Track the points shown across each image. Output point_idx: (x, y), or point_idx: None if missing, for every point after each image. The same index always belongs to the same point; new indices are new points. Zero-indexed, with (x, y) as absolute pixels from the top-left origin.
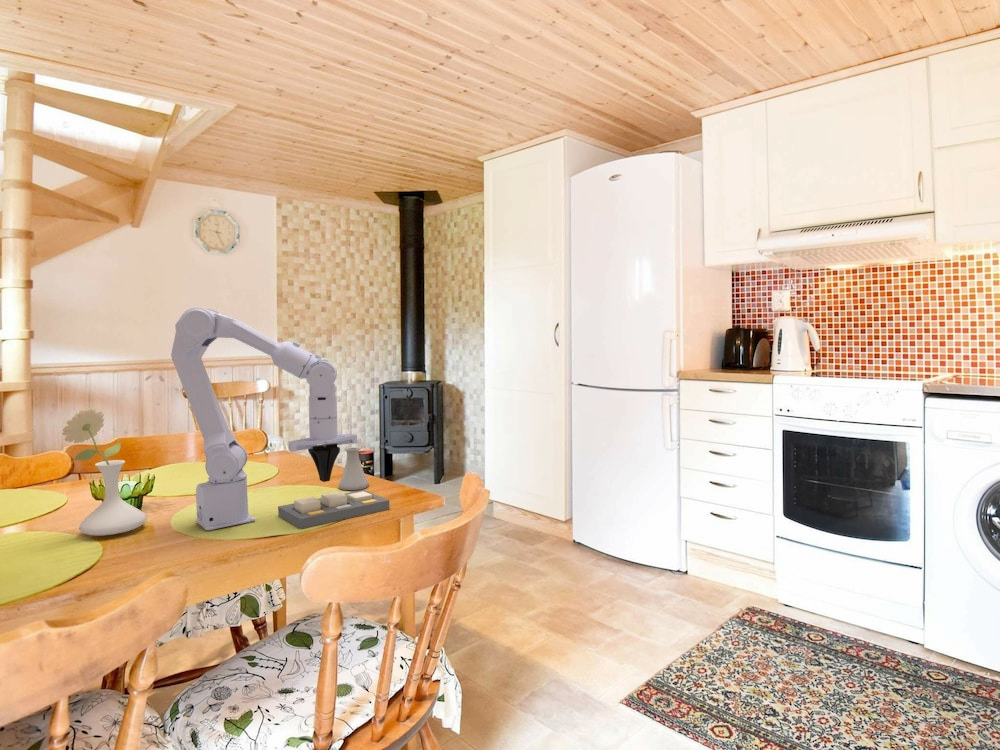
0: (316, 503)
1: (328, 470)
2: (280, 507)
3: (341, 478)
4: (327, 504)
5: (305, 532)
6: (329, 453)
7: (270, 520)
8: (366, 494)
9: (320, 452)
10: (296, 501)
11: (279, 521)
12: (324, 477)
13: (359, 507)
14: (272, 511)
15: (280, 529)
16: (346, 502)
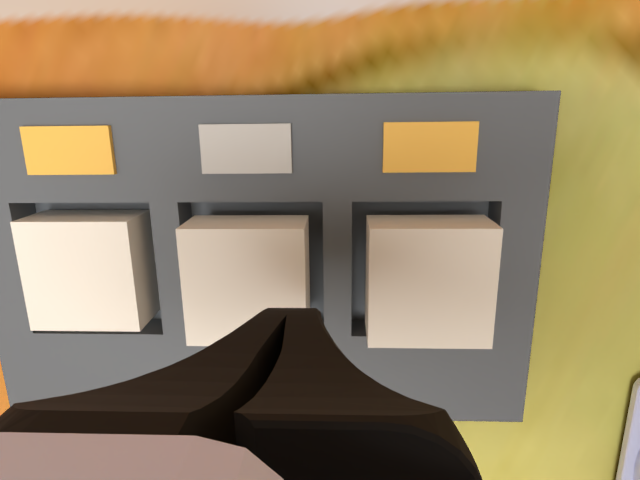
0: (396, 225)
1: (267, 332)
2: (522, 395)
3: None
4: (308, 248)
5: (545, 12)
6: (209, 431)
7: (569, 346)
8: (39, 253)
9: (421, 424)
10: (494, 314)
11: (546, 301)
12: (314, 315)
13: (159, 96)
14: (490, 473)
15: (612, 165)
16: (195, 218)
